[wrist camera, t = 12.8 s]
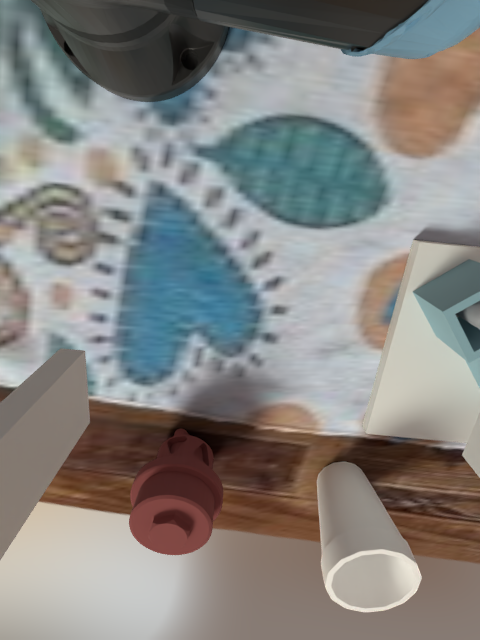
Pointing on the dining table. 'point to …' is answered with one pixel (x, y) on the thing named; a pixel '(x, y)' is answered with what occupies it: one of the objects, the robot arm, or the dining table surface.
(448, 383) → the board
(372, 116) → the dining table surface
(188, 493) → the mechanical component
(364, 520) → the foam cup
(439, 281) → the link
